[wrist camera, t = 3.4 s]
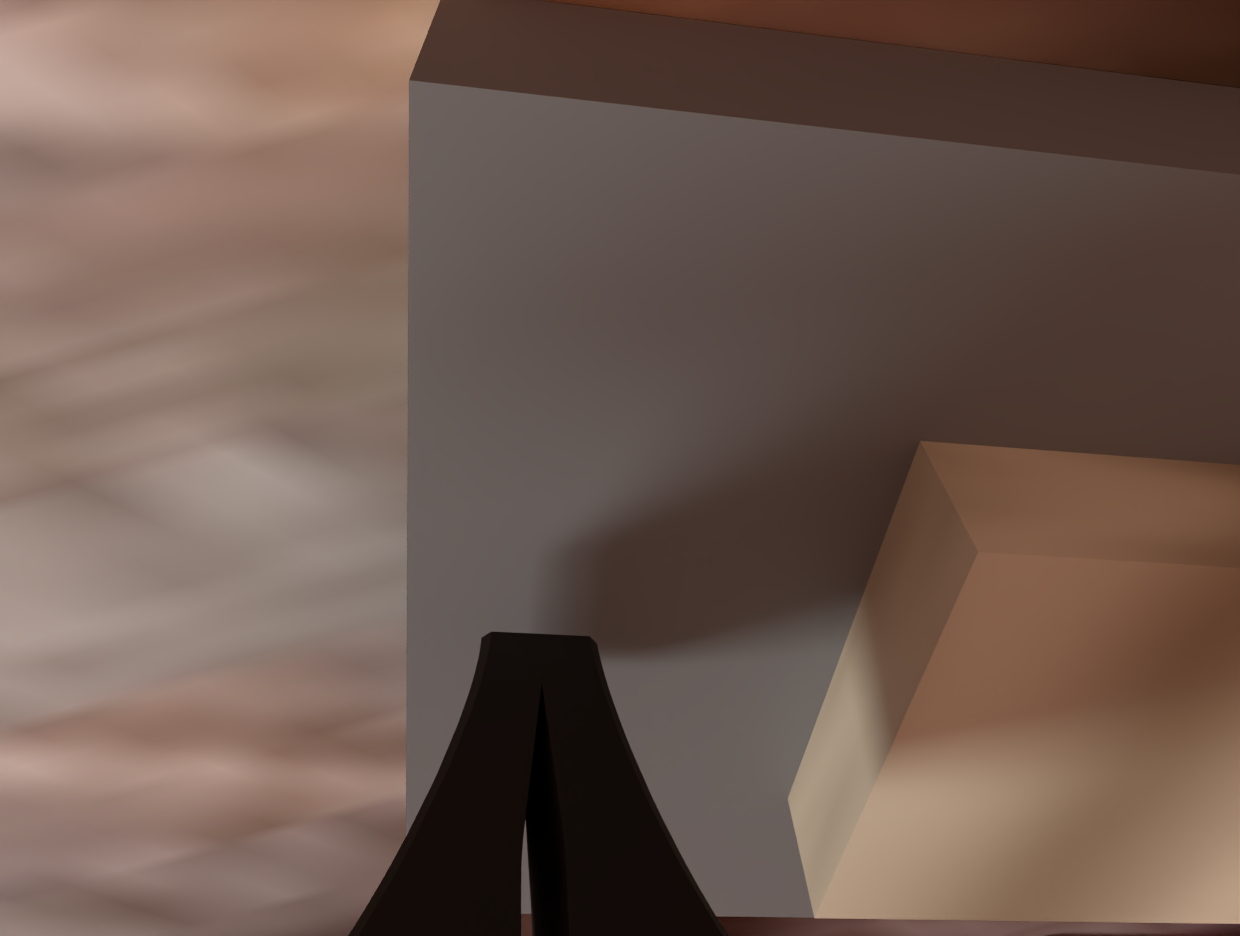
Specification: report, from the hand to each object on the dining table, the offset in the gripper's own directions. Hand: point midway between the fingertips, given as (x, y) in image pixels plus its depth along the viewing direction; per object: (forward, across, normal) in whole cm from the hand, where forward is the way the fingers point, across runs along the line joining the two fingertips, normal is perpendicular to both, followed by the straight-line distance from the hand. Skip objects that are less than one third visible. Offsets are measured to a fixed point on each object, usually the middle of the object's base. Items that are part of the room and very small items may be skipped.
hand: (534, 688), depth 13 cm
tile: (+1, -8, 0) cm, 8 cm away
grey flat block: (+5, -8, 0) cm, 10 cm away
